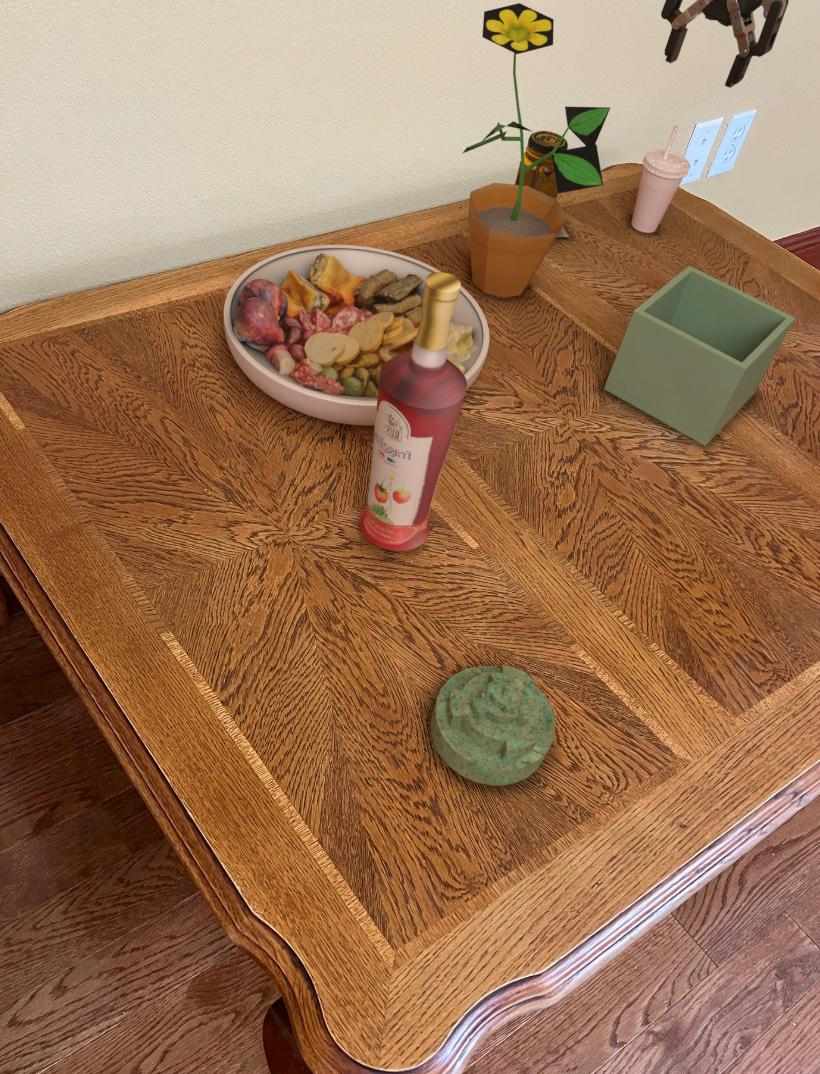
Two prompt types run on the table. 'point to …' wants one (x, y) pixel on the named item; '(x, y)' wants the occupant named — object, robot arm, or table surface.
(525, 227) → the potted plant
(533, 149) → the condiment
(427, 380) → the liquor
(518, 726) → the decorative artifact
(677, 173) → the smoothie
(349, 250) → the bowl
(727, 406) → the bin
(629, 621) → the table surface
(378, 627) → the table surface
